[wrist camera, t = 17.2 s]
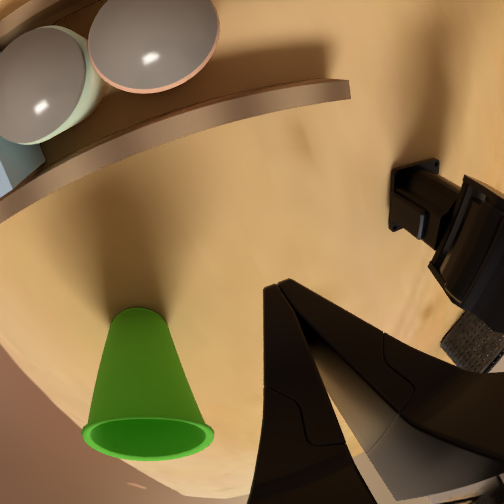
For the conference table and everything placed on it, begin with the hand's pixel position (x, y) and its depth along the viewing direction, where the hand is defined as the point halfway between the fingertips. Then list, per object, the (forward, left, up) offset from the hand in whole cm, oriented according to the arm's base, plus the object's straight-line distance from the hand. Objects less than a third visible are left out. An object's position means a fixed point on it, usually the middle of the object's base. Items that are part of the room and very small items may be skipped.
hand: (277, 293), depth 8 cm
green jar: (+7, -9, -12) cm, 17 cm away
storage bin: (-52, +45, -12) cm, 70 cm away
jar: (+1, -9, -12) cm, 15 cm away
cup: (+10, +11, -12) cm, 19 cm away
